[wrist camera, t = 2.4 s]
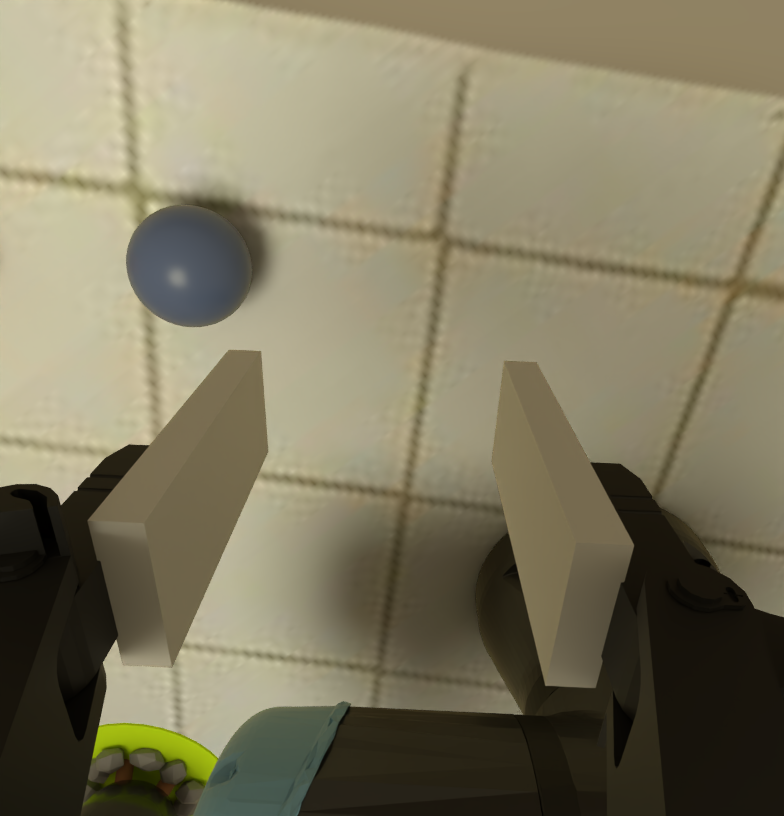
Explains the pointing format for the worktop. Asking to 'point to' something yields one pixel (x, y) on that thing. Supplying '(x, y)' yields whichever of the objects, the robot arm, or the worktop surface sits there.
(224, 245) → the blue ball
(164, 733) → the toy cauldron
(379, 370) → the worktop surface
